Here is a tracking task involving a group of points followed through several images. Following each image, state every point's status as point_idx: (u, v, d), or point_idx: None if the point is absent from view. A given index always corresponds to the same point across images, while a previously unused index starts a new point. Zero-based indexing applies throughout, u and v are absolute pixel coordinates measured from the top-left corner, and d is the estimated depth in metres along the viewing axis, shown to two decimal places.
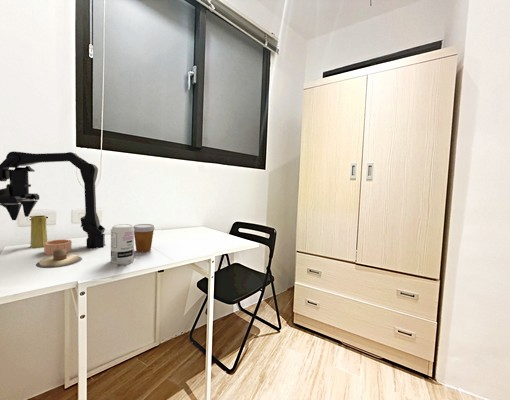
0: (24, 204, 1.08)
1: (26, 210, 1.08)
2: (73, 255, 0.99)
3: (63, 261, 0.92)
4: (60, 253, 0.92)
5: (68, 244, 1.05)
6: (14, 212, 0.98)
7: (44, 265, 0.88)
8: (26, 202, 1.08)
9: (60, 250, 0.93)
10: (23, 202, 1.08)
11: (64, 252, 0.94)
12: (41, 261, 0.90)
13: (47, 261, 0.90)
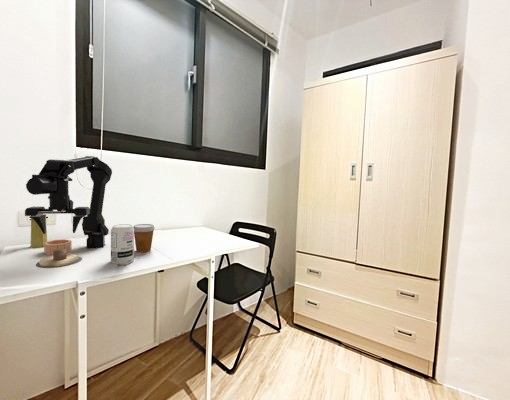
0: None
1: None
2: (73, 255, 0.99)
3: (63, 261, 0.92)
4: (60, 253, 0.92)
5: (68, 244, 1.05)
6: None
7: (44, 265, 0.88)
8: None
9: (60, 250, 0.93)
10: None
11: (64, 252, 0.94)
12: (41, 261, 0.90)
13: (47, 261, 0.90)
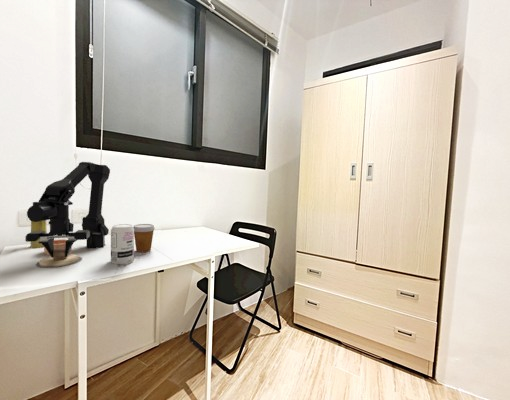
0: None
1: None
2: (73, 255, 0.99)
3: (63, 261, 0.92)
4: (60, 253, 0.92)
5: None
6: None
7: (44, 265, 0.88)
8: None
9: (60, 250, 0.93)
10: None
11: (64, 252, 0.94)
12: (41, 261, 0.90)
13: (47, 261, 0.90)
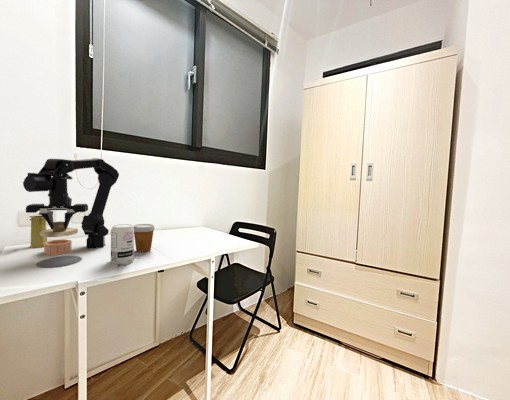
0: None
1: None
2: (71, 228, 1.02)
3: (63, 232, 0.95)
4: (59, 225, 0.96)
5: (68, 244, 1.05)
6: None
7: (44, 235, 0.92)
8: None
9: (59, 222, 0.97)
10: None
11: (63, 224, 0.97)
12: (41, 232, 0.94)
13: (47, 232, 0.94)
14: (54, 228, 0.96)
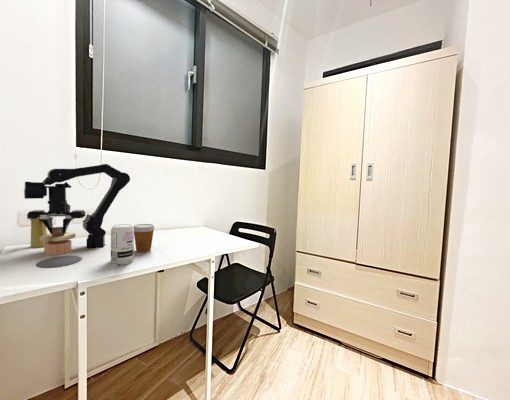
0: None
1: None
2: (70, 233, 1.09)
3: (61, 237, 1.02)
4: (58, 230, 1.03)
5: (68, 244, 1.05)
6: None
7: (44, 240, 0.99)
8: None
9: (58, 227, 1.04)
10: None
11: (62, 229, 1.04)
12: (41, 237, 1.01)
13: (47, 237, 1.01)
14: (53, 233, 1.03)
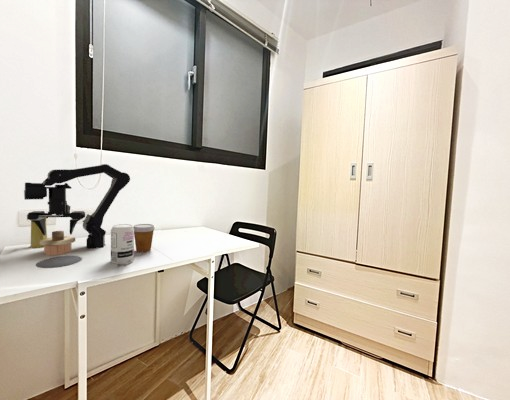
0: None
1: None
2: (70, 237, 1.10)
3: (61, 241, 1.02)
4: (58, 234, 1.03)
5: (68, 244, 1.05)
6: None
7: (44, 244, 0.99)
8: None
9: (58, 232, 1.04)
10: None
11: (62, 233, 1.04)
12: (41, 241, 1.01)
13: (47, 241, 1.01)
14: (53, 237, 1.03)
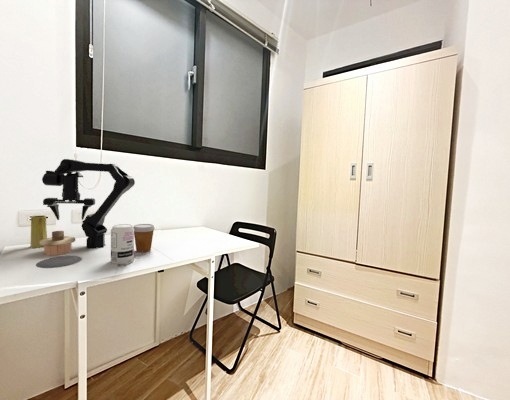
0: None
1: None
2: (70, 237, 1.10)
3: (61, 241, 1.02)
4: (58, 234, 1.03)
5: (68, 244, 1.05)
6: None
7: (44, 244, 0.99)
8: None
9: (58, 232, 1.04)
10: None
11: (62, 233, 1.04)
12: (41, 241, 1.01)
13: (47, 241, 1.01)
14: (53, 237, 1.03)
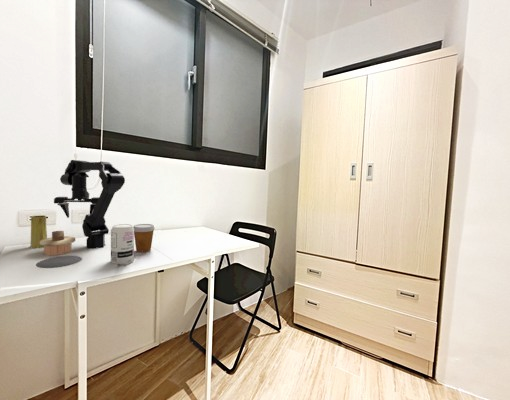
0: None
1: None
2: (70, 237, 1.10)
3: (61, 241, 1.02)
4: (58, 234, 1.03)
5: (68, 244, 1.05)
6: None
7: (44, 244, 0.99)
8: None
9: (58, 232, 1.04)
10: None
11: (62, 233, 1.04)
12: (41, 241, 1.01)
13: (47, 241, 1.01)
14: (53, 237, 1.03)
